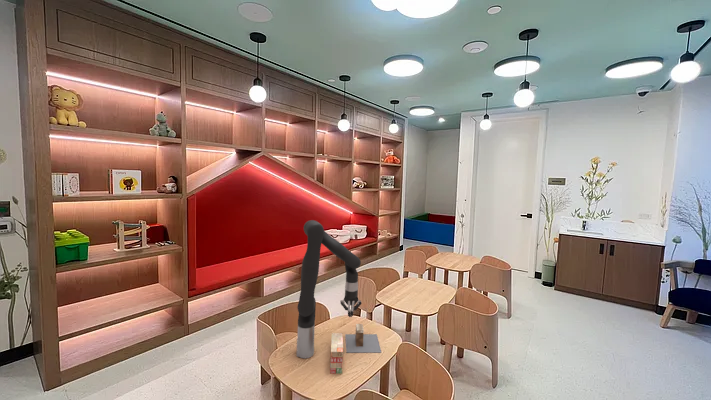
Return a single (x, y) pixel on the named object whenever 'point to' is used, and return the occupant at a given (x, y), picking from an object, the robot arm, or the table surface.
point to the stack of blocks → (336, 353)
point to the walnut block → (359, 334)
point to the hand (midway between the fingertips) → (350, 316)
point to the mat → (368, 344)
